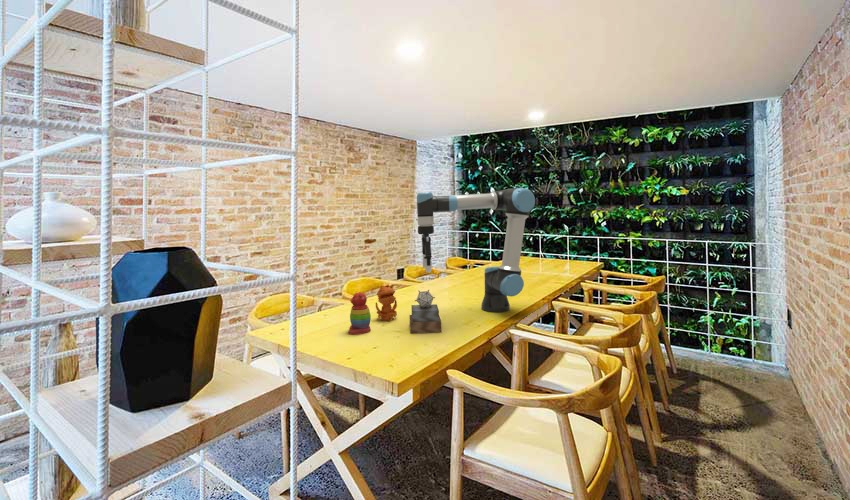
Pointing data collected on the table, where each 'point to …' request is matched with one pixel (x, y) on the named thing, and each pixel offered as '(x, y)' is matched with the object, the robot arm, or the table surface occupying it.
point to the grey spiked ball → (424, 299)
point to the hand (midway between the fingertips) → (427, 270)
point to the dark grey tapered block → (425, 319)
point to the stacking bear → (359, 315)
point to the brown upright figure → (386, 303)
